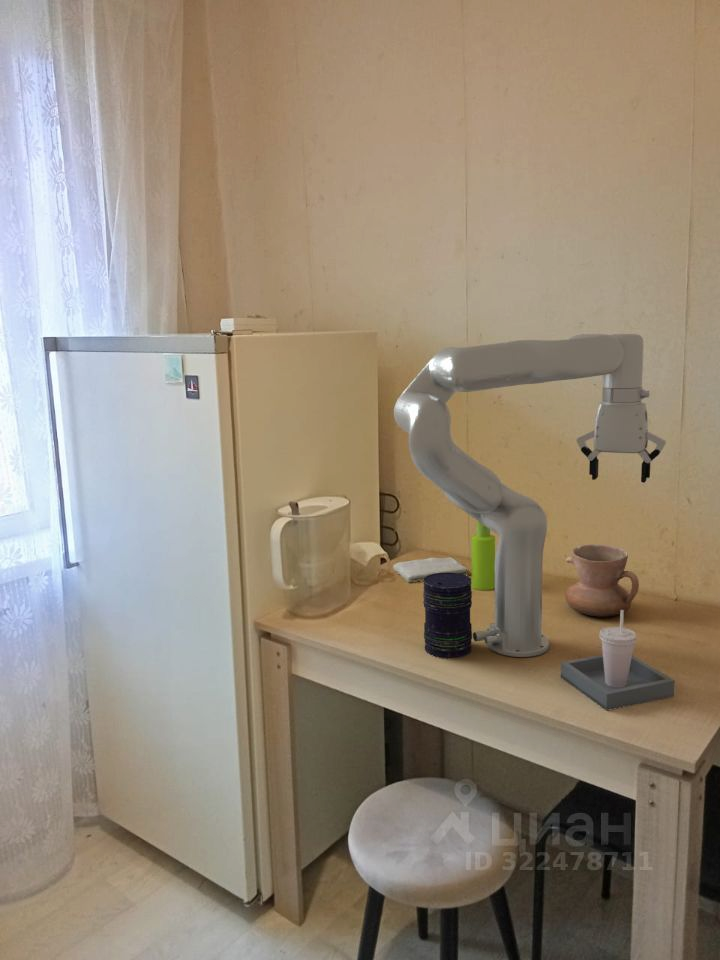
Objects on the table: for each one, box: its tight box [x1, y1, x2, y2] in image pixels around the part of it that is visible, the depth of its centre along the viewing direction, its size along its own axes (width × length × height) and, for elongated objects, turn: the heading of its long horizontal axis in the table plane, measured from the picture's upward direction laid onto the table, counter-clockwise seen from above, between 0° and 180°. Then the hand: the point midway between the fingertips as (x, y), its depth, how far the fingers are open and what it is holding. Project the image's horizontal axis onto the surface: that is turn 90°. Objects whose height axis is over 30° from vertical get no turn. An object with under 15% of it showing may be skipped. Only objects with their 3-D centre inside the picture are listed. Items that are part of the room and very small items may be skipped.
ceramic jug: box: [564, 544, 640, 618], centre depth 177 cm, size 18×14×14 cm
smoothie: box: [598, 610, 638, 688], centre depth 140 cm, size 6×6×14 cm
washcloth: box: [392, 556, 469, 583], centre depth 210 cm, size 12×18×3 cm, turn 107°
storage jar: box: [422, 572, 473, 660], centre depth 159 cm, size 10×10×15 cm
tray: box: [560, 654, 676, 711], centre depth 141 cm, size 14×14×3 cm
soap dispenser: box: [470, 521, 496, 591], centre depth 196 cm, size 6×7×20 cm
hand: (619, 479), depth 159 cm, fingers open, 9 cm apart
